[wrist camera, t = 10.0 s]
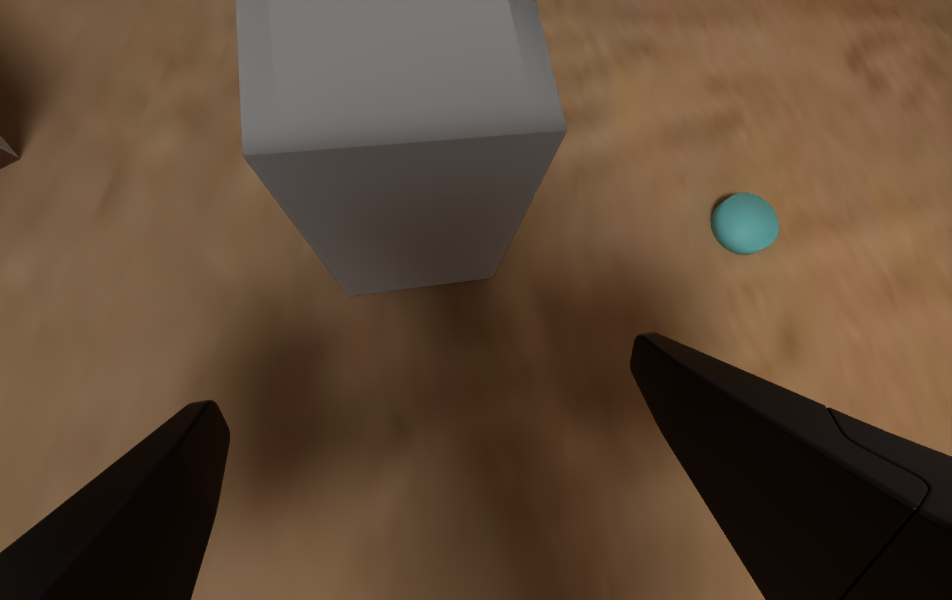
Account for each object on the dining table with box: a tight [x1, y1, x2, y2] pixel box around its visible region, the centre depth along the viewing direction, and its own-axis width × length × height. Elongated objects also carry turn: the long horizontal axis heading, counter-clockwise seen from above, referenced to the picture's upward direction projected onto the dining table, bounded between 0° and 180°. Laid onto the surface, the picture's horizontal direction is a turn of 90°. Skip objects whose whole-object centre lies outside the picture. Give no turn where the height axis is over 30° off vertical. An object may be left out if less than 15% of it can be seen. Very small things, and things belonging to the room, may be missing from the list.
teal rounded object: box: [711, 193, 779, 255], centre depth 20 cm, size 3×3×1 cm
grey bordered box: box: [236, 0, 567, 297], centre depth 13 cm, size 6×6×10 cm
